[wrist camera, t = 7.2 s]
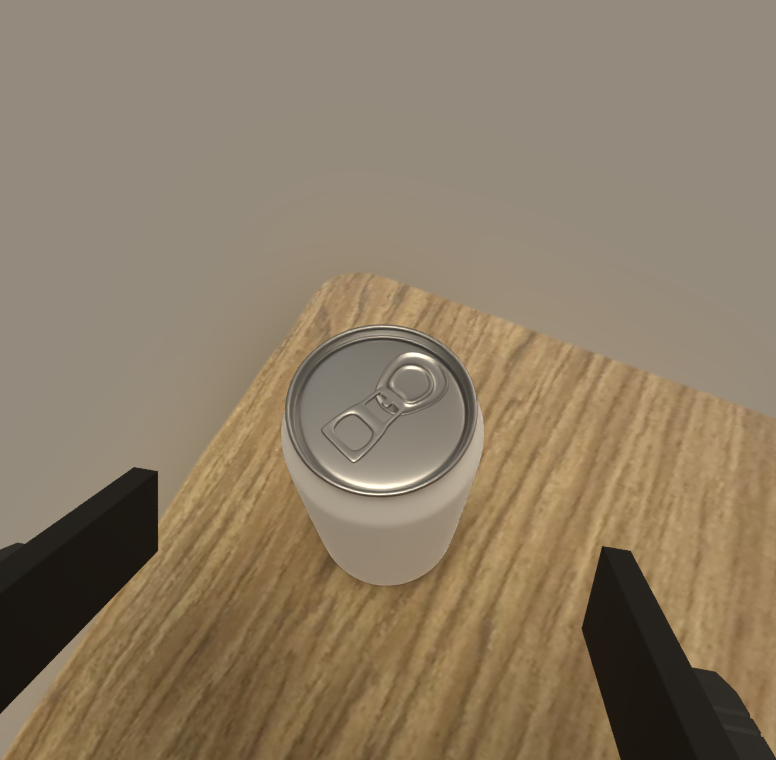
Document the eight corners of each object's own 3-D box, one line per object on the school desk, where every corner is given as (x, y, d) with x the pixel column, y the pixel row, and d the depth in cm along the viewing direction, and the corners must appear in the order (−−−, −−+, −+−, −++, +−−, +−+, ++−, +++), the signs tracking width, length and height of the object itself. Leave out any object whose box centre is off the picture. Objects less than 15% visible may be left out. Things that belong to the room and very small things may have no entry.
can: (482, 518, 26) (539, 403, 16) (385, 620, 24) (377, 565, 14) (388, 430, 29) (384, 280, 18) (292, 515, 26) (224, 401, 16)
